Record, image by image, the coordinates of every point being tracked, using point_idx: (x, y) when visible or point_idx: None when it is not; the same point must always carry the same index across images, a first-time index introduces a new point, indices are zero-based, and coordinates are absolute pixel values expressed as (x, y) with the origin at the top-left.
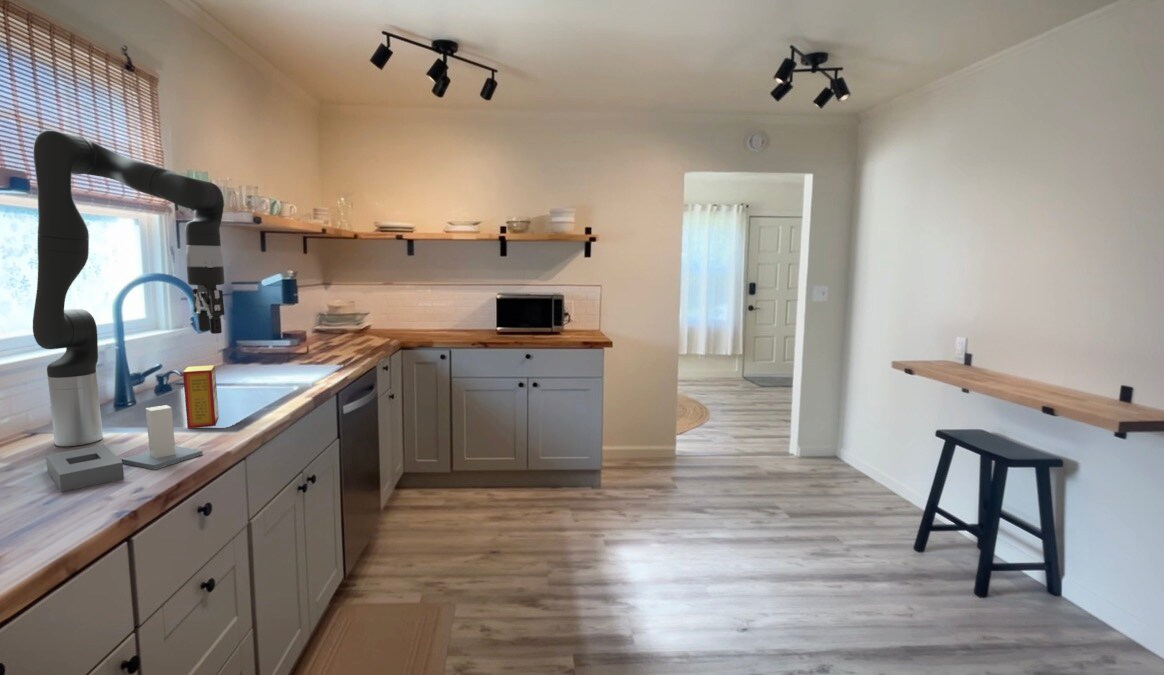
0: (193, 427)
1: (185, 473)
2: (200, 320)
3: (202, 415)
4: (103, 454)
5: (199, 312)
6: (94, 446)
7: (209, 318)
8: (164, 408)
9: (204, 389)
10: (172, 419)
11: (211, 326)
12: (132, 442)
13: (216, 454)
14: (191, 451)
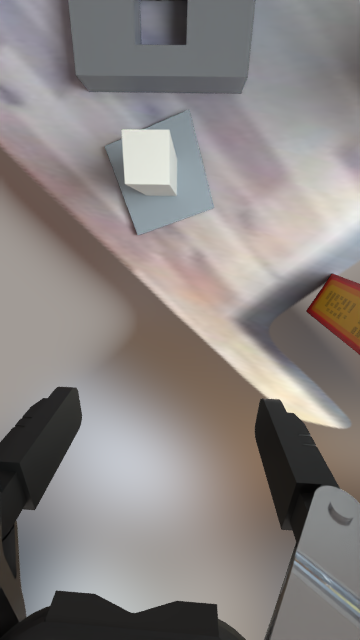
0: (326, 282)
1: (54, 181)
2: (281, 454)
3: (327, 302)
4: (163, 55)
5: (306, 523)
6: (248, 54)
7: (18, 460)
8: (128, 167)
9: (355, 328)
10: (131, 187)
11: (36, 414)
12: (325, 169)
13: (126, 250)
14: (145, 221)
